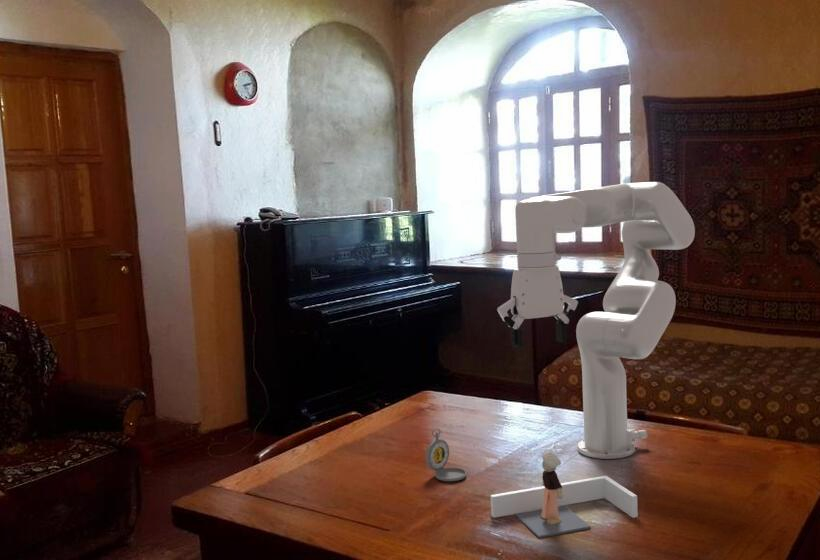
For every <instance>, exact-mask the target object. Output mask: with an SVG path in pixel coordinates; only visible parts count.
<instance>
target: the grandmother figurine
mask: <svg viewBox="0 0 820 560" xmlns="http://www.w3.org/2000/svg"><path fill="white" fill-rule="evenodd" d="M541 457H542V464H541V466H542V469H543V472H542V478H541V479H542V483H541V484H542V486H545V489H544V498H543V509H541V510H542V513H541V518H544V519H547V520H546V522H547V523H548V524H556V523H560V522H561V519H560V518H559V512H558V507H559V506H558V498H559V499H561V498H563V494H562V486H561V484H560V483H561V482H560V479H559V477H558V474H557V471H556V469H557V467H560V465H561V464H562V461H561V460H560V458H559V457H558V455H557V454H555V453H554V452H551V451H545V452H544V453H543V452H542V456H541ZM557 497H558V498H557Z"/></svg>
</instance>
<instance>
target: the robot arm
mask: <svg viewBox="0 0 820 560" xmlns="http://www.w3.org/2000/svg"><path fill="white" fill-rule="evenodd" d="M514 213H515V231H516V232H515V234H516V235H515V236H516V255H517V256H516V257H517V258H516V260H517V268H514V269H513V272H512V276H511V278H512V279H511V288H510V299H509V300H507V301H505V302H504V303H502V304H501V305H500V306H498V307H497V308H496V311H497V312H498V315H499V316H500V318H501V320H502V321H503V322H504V323H505V324H506V325H507V327H509V328H510V342H511V345H512V346H513V347H514V348H517V349H518V350H520V349H523V331H522V329H521V328H520V327H521V325H522V323H523V322H524V320H529V319H539V318H550V317H554V318H555V319H556V320H557V321H556V322H555V340H556V342H558V343H561V344H566V343H567V338H568V324H569V322H570V320H571V319H572V318H573V316H574V315H575V310H576V309H577V306H578V304H579V301H578V300H577V299H575V298H572V297H570V296H568V295H566V294H564V289H563V288H564V287H563V282H562V277H561V273H560V269H559V266H556V265H557V261H560V260H561V258H562V255H561V253H557V251H556V247H555V246H556V245H555V244H556V243H555V239H556V238H555V234H572V233H576V232H577V231H580V230H581V229H582V228H599V227H600V228H601V227H605V226H609V225H613V224H619V223H623V224H622V228H621V238H622V245H623V246H622V247H623V253H624V254H623V255H624V261H623V264H622V266H621V268H620V270H619V272H618V273H617V274H616V276H615V278H614V279H613V280H612V282H611V284H610V285H609V287H608V288H607V291H606V292H605V294H604V296H603V300H602V307H603V310H604V311H591V312H589V313H586V314H584V315H583V316H582V317H581V318H580V319H579V320H578V323H577V324H576V329H575V333H576V335H575V336H576V343H577V346H578V350H579V353H580V354H579V355H580V363H581V372H582V373H581V375H582V377H581V379H582V410H583V411H582V412H583V439H582V440H580V441H578V443H577V451H578V452H579V453H580V454H582V455H583V456H585V457H588V458H589V457H590V458H593V459H601V460H603V459H604V460H616V459H621V458H622V459H623V458H626V457H629V456H632V455H633V454H634V453H635V452H636V446H635V444H634V443H633V442H635V441H636V440H642V439H647V437H648V431H647V430H646V429H641V430H640V429H639V430H636V429H635V428H628V409H627V403H628V401H627V374H626V370H625V367H624V364H623V362H622V361H621V359H620V358H622V359H623V358H624V359H631V360H643V359H645V358H647V357H649V355H650V354H652V353H653V351H654V350H655V349H656V346H657V344H658V343H659V341H660V340H661V338H662V336H663V334H664V333H665V331H666V329H667V328H668V325H669V324H670V322H671V321H672V318H673V316H674V313H675V310H676V303H677V302H676V301H677V298H676V294H675V293H676V292H675V290H674V289H673V287H672V285H670V284H669V283H667V282H666V281H663V280H658V279H659V276H660V271H659V270H660V269H659V267H658V264H657V262H656V260H655V259H654V257H653V256H652V253H651V250H669V251H670V250H674V251H677V250H683V249H686V248H688V247H689V246H690V245H691V244H692V243H693V241H694V239H695V235H696V234H695V233H696V227H695V224H694V221H693V218H692V217H691V215H690V214H689V213H690V212H688V210H687V209H686V208H685V206H684V205H683V203H682V201H680V199H679V198H678V196H677V195H676V194H675V192H674V191H673V190H672V189H671V188H670V187H669V186H667V185H666V184H665V183H664V182H660V181H646V182H627V183H626V182H625V183H620V184H612V185H606V186H599V187H592V188H586V189H585V188H583V189H580V190H579V189H578V190H574V191H568V192H561V193H559V192H558V193H554V194H553V193H552V194H545V195H538V196H532V197H530V198H528V199H523V200H520V201H518V202H517V203H516V205H515V212H514ZM565 303H566V304H567V308H566V309H565ZM509 310H510V312H511V314H512V315H513V316H512V317H510V316H509V313H508V311H509Z"/></svg>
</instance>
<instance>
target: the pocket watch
mask: <svg viewBox="0 0 820 560" xmlns="http://www.w3.org/2000/svg"><path fill="white" fill-rule="evenodd" d="M436 430H438V431H439V432H436V433H435V434H434V431H436ZM431 435H432V436H433V437H435V439H434V440H433V441H432V442H431V443H429V444H428V446H427V449H426V453H425V462H426V465H427V466H428V468H429V469H431V470H432V471H435V473H434V477H435V478H436V479H437V480H440V481H443V482H456V481H457V482H458V481H460V480H463V479H465V478H466V477H467V471H466V470H465V469H464V468H461V467H445V466H446V464H447V463H448V460H449V457H450V446H449V445H448V442H447V441H446V440H444V439H441V438H439V437H440V435H441V429H440V428H438V427H437V428H436V427H435V428H433V430H432V431H431ZM444 467H445V468H444Z"/></svg>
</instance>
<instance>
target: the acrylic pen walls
mask: <svg viewBox="0 0 820 560" xmlns="http://www.w3.org/2000/svg"><path fill="white" fill-rule="evenodd" d="M560 484H561V486H562V494H563V498H561V499H559V498H558V497H557V498H558V507H559V506H568V505H573V504H579V503H585V502H589V501H596V500H601V499H605V500H607V501H608V502H609V503H611V504H612V505H614V506H615V507H617V508H618V509H620V510H621V511H622V512H624V513H625V514H627V515H628V516H629V517H631V518H632V519H633V518H638V517H639V516H638V495H636V494H635V493H634V492H632V491H630V490H629V489H627V488H626V487H624V486H623V485H622V484H619V483H618V482H617V481H615V480H614V479H612V478H611V477H609V476H607V475H602V476H596V477H595V476H594V477H589V478H584V479H583V478H582V479H579V480H578V479H577V480H574V481H573V480H572V481H567V482H562V483H561V482H560ZM544 489H545V486H543V485H542V486H537V487H530V488H525V489H519V490H512V491H505V492H501V493H495V494H490V510H491V511H490V512H491V514H490V515H491V517H492V518H493V519H494V518H499V517H505V516H512V515H516V514H520V513H525V512H531V511H536V510H542V509H543V498H544Z"/></svg>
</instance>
